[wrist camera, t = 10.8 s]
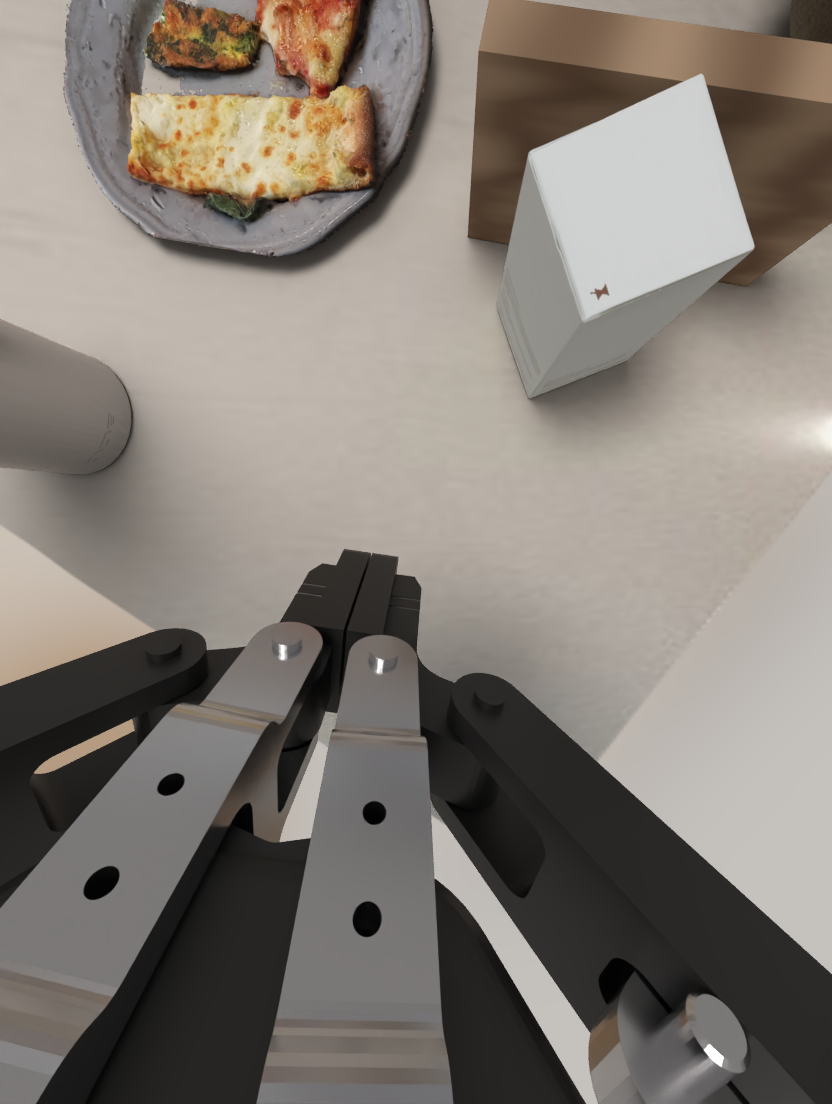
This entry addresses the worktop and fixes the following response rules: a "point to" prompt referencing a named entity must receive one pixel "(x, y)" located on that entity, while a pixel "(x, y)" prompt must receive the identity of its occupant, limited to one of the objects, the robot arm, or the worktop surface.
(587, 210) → the supplement box
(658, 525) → the worktop surface
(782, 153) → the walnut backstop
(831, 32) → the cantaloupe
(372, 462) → the worktop surface
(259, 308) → the worktop surface
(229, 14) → the food plate
